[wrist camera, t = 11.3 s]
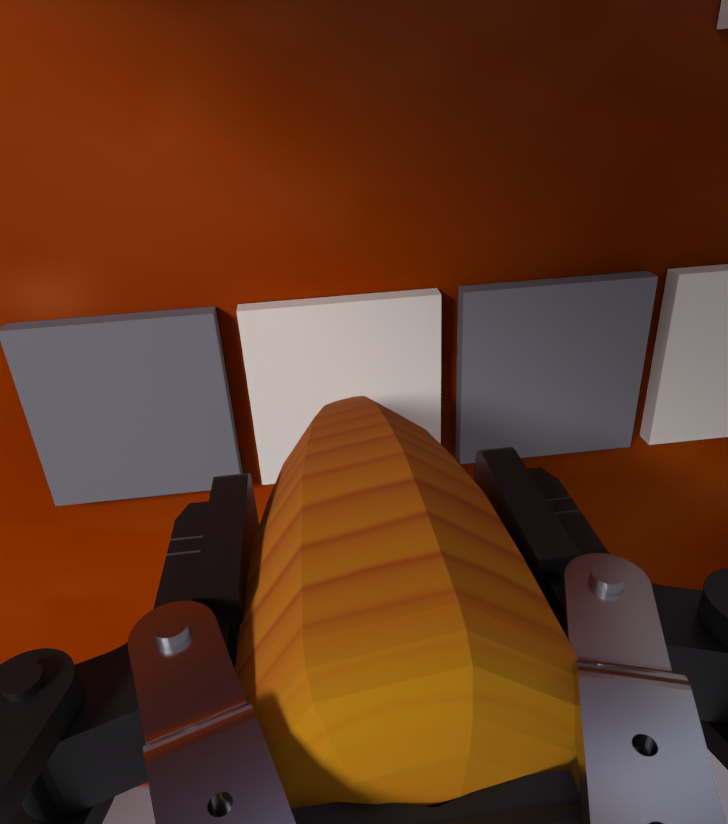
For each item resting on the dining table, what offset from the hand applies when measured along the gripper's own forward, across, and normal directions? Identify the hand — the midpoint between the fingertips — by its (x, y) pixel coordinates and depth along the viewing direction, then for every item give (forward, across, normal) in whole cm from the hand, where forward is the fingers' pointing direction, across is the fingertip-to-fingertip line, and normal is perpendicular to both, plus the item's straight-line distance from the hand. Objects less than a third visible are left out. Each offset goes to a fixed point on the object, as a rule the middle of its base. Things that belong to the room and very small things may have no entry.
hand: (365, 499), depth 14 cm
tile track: (+6, -3, 0) cm, 6 cm away
